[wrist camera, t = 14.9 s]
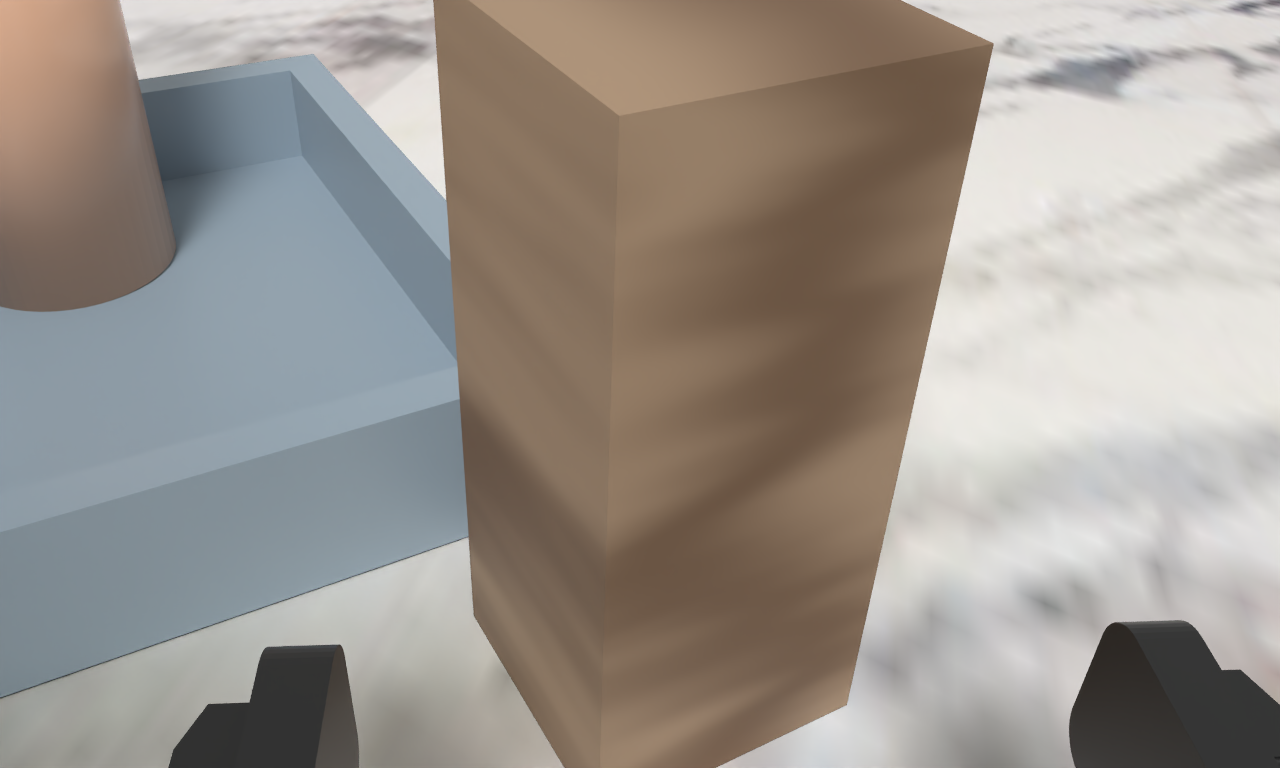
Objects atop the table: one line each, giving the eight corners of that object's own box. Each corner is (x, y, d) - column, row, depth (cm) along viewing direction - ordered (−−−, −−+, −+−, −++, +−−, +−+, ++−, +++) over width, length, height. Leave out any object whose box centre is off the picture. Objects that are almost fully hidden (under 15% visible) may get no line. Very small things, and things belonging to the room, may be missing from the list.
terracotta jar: (-29, 330, 28) (-264, -287, 20) (-37, 228, 31) (-239, -332, 23) (191, 286, 29) (57, -294, 22) (160, 194, 33) (36, -335, 25)
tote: (-173, 757, 19) (-262, 608, 17) (-183, 256, 31) (-235, 135, 29) (588, 494, 25) (590, 361, 23) (326, 160, 37) (313, 53, 35)
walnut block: (598, 823, 19) (618, 115, 12) (474, 615, 22) (432, -29, 15) (846, 704, 21) (993, 43, 14) (697, 531, 24) (753, -68, 17)
